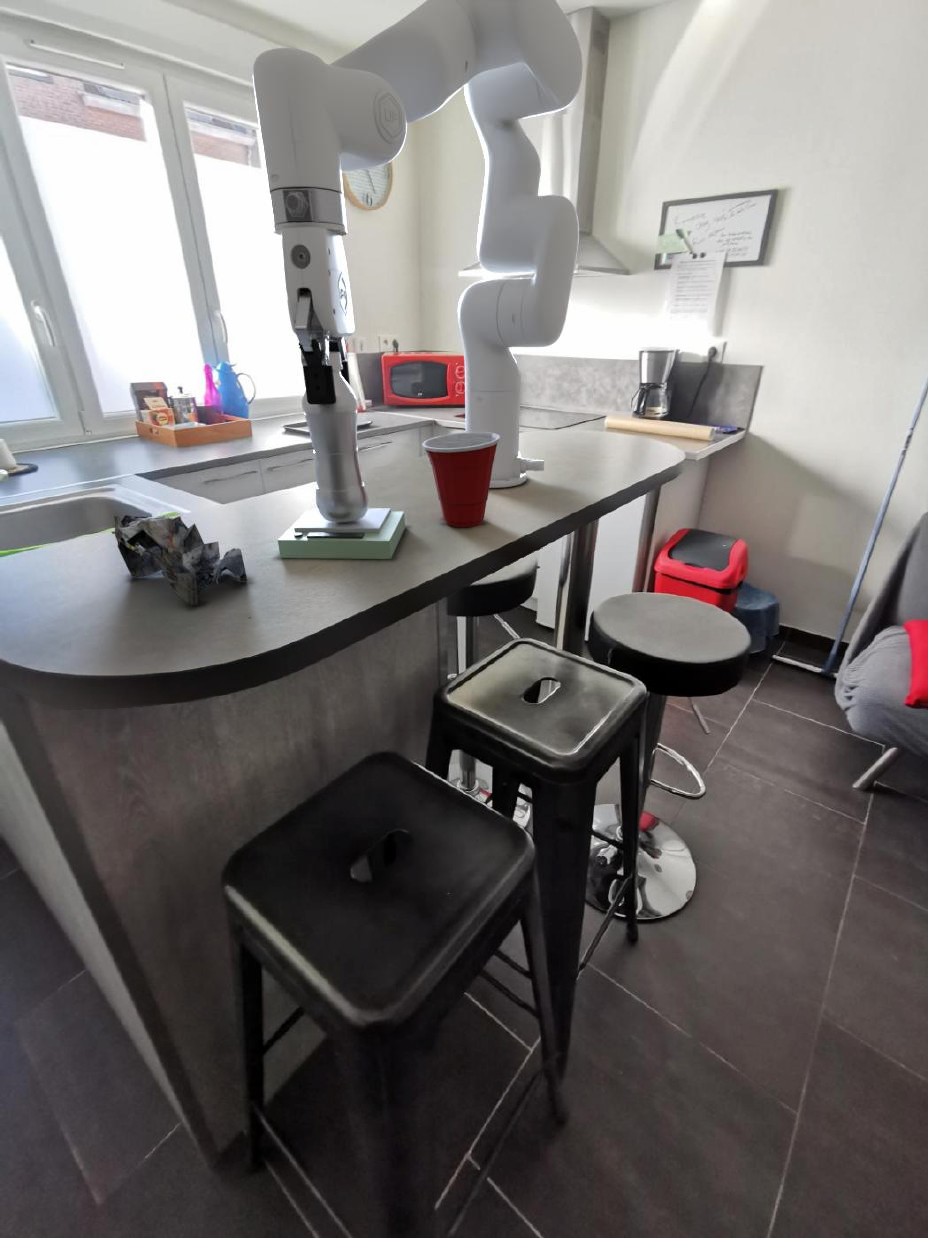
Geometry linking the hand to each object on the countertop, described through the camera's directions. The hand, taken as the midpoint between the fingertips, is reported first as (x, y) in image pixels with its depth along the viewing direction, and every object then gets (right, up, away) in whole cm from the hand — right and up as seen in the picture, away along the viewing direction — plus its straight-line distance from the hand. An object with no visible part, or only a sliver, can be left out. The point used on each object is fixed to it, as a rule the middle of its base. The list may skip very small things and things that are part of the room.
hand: (330, 398), depth 67 cm
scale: (0, -16, +8) cm, 18 cm away
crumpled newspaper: (-16, -22, -3) cm, 27 cm away
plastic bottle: (0, -13, +7) cm, 15 cm away
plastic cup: (+16, -12, +16) cm, 25 cm away
